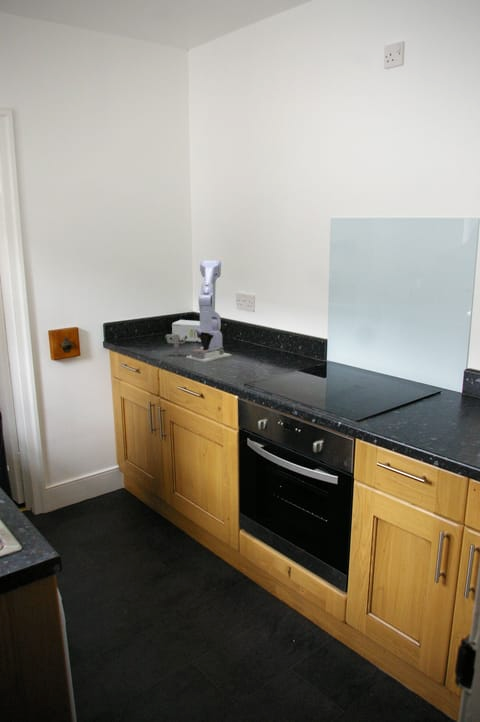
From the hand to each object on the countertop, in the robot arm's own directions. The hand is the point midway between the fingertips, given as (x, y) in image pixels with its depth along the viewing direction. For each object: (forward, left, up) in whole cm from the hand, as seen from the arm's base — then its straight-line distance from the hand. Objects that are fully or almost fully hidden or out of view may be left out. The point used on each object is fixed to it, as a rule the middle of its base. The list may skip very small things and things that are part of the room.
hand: (206, 349), depth 273 cm
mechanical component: (+7, -13, -4) cm, 15 cm away
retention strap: (-1, 0, -1) cm, 2 cm away
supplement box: (-27, -39, -5) cm, 48 cm away
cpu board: (-2, 0, -4) cm, 5 cm away
